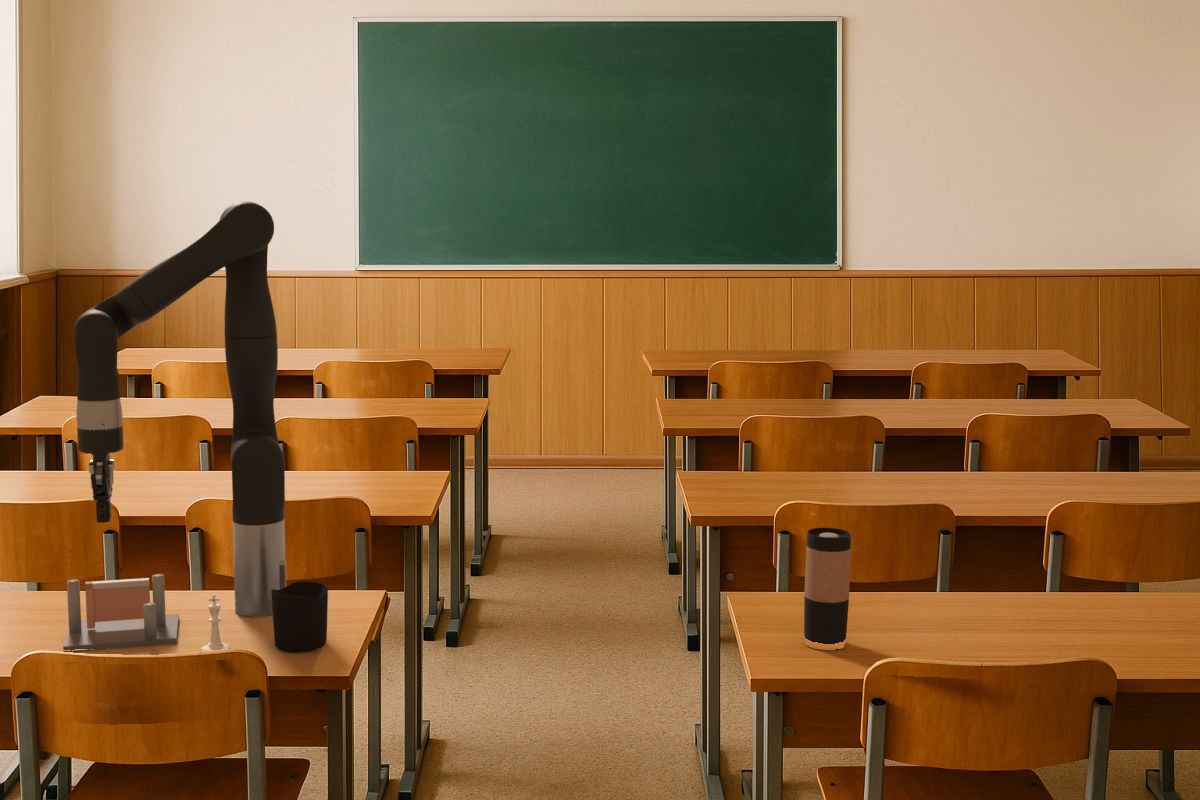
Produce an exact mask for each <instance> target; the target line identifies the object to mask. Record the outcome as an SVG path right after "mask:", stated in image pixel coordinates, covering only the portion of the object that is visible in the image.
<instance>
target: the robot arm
mask: <svg viewBox="0 0 1200 800" xmlns="http://www.w3.org/2000/svg"><path fill="white" fill-rule="evenodd" d="M220 215H221V216H220V218H219V220H218V221H217V223H215V224H214V226H212V227H211V228H210V229H209V230H207V232H206V233H205V234H203V235H202V236H201V237H199V238H198V239H197V240H195V241H194V242H193V243H191V244H190V245H188V246H186V247H185V248H183V249H182V250H180V251H179V252H177V253H175V254H173V255H171V256H169V257H168V258H165V259H163V261H162V262H159V263H157V264H156V265H154V266H152V267H151V268H149V269H148V270H146V271H144V272H143V273H141V274H140V275H138V276H137V277H135V278H134V279H133V280H131V281H129V283H127V284H126V285H124V286H123V287H122V288H121V289H120V290H118V291H117V292H116V293H114V294H113V295H111V296H109V297H108V298H105V299H104V300H102V301H101V302H99V303H97V304H96V305H94V306H92V307H91V308H89V309H88V310H86V311H85V312H83V313H82V314H81V315H79V317H77V320H76V321H75V324H74V327H73V341H74V350H75V351H74V353H75V359H76V360H75V361H76V367H77V370H76V397H77V398H76V399H77V403H76V411H75V412H76V433H77V434H76V435H77V436H76V437H77V450H78V451H79V452H80V453H82V454H85V455H89V454H90V455H92V460H90V461H89V463H88V472H89V474H90V488H91V489H92V499H93V501H94V502H95V508H96V509H95V510H96V511H95V512H96V522H97V524H98V523H99V524H101V523H102V524H103V523H109V522H110V521H111V518H112V503H111V500H112V497H113V494H112V493H113V490H114V488H113V485H114V482H115V481H114V480H115V479H114V470H115V459H111V455H110V454H113V453H117V452H121V451H123V449H124V448H125V445H124V425H123V424H124V422H123V421H124V419H123V418H124V417H123V407H122V402H121V387H120V386H121V385H120V374H119V370H118V339H119V338H121V337H122V336H123V335H125V334H127V333H128V332H129V331H130V330H132V329H133V328H135V327H136V326H137V325H139V324H142V323H144V322H146V321H148V320H150V319H151V318H153V317H154V316H156V315H157V314H159V313H160V312H161V311H164V310H165V309H166V308H168V307H169V306H171V305H172V304H173V303H174V302H176V301H177V300H178V299H180V298H182V297H183V296H184V295H185V294H187V293H188V292H189V291H190V290H192V289H193V288H194V287H196V286H197V285H199V284H200V283H202V282H203V281H205V280H206V279H207V278H208V277H211V276H212V275H213V274H214V273H216V272H218V271H219V270H222V268H225V269H224V270H225V280H226V282H225V296H224V297H225V301H224V353H225V354H224V355H225V363H226V372H227V378H228V385H229V390H230V396H231V400H232V414H233V415H232V435H231V447H230V457H229V459H230V463H231V479H232V481H231V483H232V484H231V485H232V490H231V491H232V508H231V509H232V511H231V512H232V536H233V538H232V539H233V570H234V571H233V575H234V577H233V579H234V582H233V583H234V608H235V609H234V610H235V613H236V614H238V615H241V616H245V617H267V616H273V611H272V595H271V590H272V589H275V590H280V589H283V588H284V587H286V586H287V562H286V545H285V544H286V539H285V505H286V495H285V494H286V493H285V492H286V491H285V490H286V485H285V484H286V483H285V482H286V479H285V478H286V476H285V474H286V473H285V469H286V468H285V458H284V457H285V456H284V453H283V450H282V448H281V446H280V444H279V439H278V434H277V426H276V425H277V424H276V418H275V417H276V416H275V409H274V408H275V407H274V401H275V400H274V399H275V391H276V385H277V375H278V363H279V362H278V357H279V355H278V353H279V352H278V336H277V335H278V331H277V323H276V322H277V321H276V317H275V311H274V305H273V300H272V296H271V292H270V288H269V281H268V252H269V251H268V250H269V244H270V243H271V241H272V239H273V236H274V233H275V223H274V219H273V216H272V215H271V213H270V212H269V211H268V210H267V209H266V208H265V207H264V206H262V205H260V204H258V203H256V202H252V201H238V202H235V203H232V204H230V205H229V206H228V207H227V208H225V209H224V211H223V212H222V213H221V214H220Z"/></svg>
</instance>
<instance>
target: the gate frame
mask: <svg viewBox="0 0 1200 800" xmlns="http://www.w3.org/2000/svg"><path fill="white" fill-rule="evenodd" d="M151 583H152V584H151V586H152V587H151V588H152V602H150V603H146V604H144V605H143V608H144V619H132V620H118V621H104V622H95V628H92V629H87V619H84V620H82V613H81V612H82V608H81V590H80V587H81V586H80V579H73V578H72V579H69V580H66V592H67V597H66V598H67V613H68V614H67V615H68V633H67V635H66V638H65V641H64V643H63V647H62V649H63V650H71V651H72V650H75V649H88V650H87V651H91V650H90V649H100V650H108V649H107V648H111V649H112V648H113V649H125V648H136V647H137V648H138V647H139V648H140V647H148V646H149V647H150V646H151V647H152V646H163V645H176V644H177V641H178V640H177V639H178V631H179V621H180V614H179V613H171V614H168V613H167V614H166V593H165V592H166V591H165V574H162V573H157V574H152V575H151ZM111 649H110V650H111ZM63 650H62V651H63Z"/></svg>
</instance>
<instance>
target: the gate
mask: <svg viewBox="0 0 1200 800" xmlns="http://www.w3.org/2000/svg"><path fill="white" fill-rule="evenodd" d="M84 585H85V589H84V590H85V609H86V611H85V612H86V620H87V629H92V628H95V622H104V621H118V620H132V619H144V608H143V605H144V604H146V603H151V595H150V594H151V593H150V592H151V590H150V588H151V587H150V578H149V577H142V578H130V579H129V578H126V579H125V578H124V579H111V580H95V581H85V584H84Z"/></svg>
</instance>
